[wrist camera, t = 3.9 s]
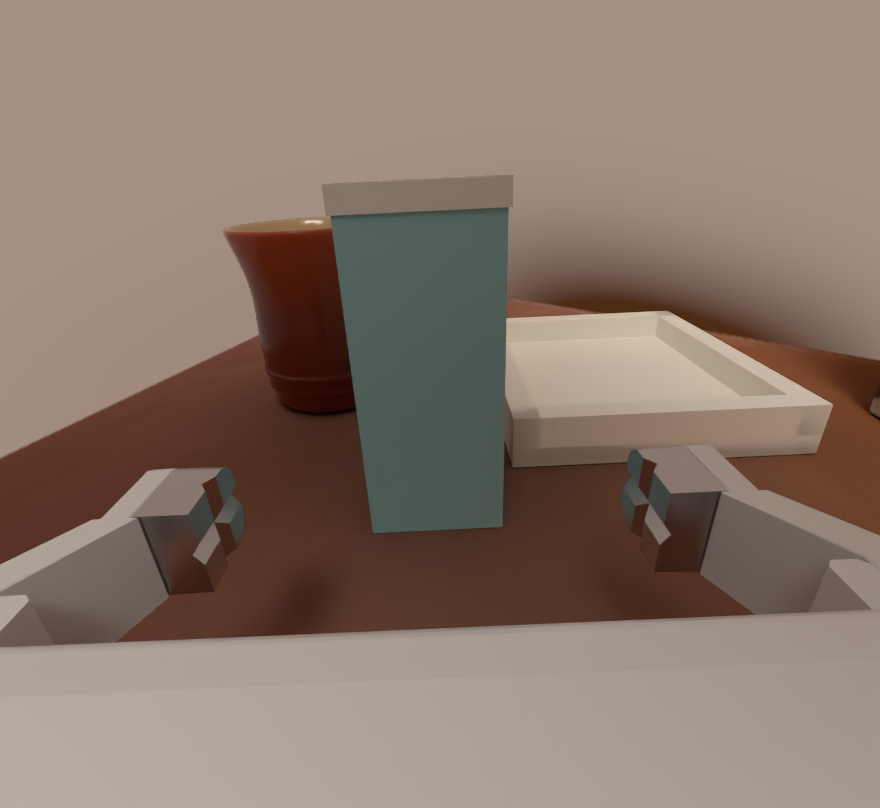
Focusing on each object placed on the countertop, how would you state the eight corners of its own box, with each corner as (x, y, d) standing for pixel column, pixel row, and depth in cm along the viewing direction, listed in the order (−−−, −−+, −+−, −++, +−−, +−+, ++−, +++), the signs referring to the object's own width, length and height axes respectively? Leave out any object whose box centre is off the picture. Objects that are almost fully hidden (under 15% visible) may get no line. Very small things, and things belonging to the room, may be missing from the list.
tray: (512, 467, 22) (513, 419, 21) (479, 351, 36) (479, 319, 35) (815, 453, 22) (833, 404, 21) (662, 343, 36) (667, 310, 35)
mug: (401, 421, 26) (385, 226, 22) (243, 431, 26) (193, 235, 22) (403, 350, 37) (392, 210, 33) (291, 357, 37) (264, 216, 32)
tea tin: (370, 535, 18) (321, 184, 13) (382, 461, 23) (350, 182, 17) (505, 528, 18) (513, 174, 13) (490, 456, 23) (490, 175, 17)
